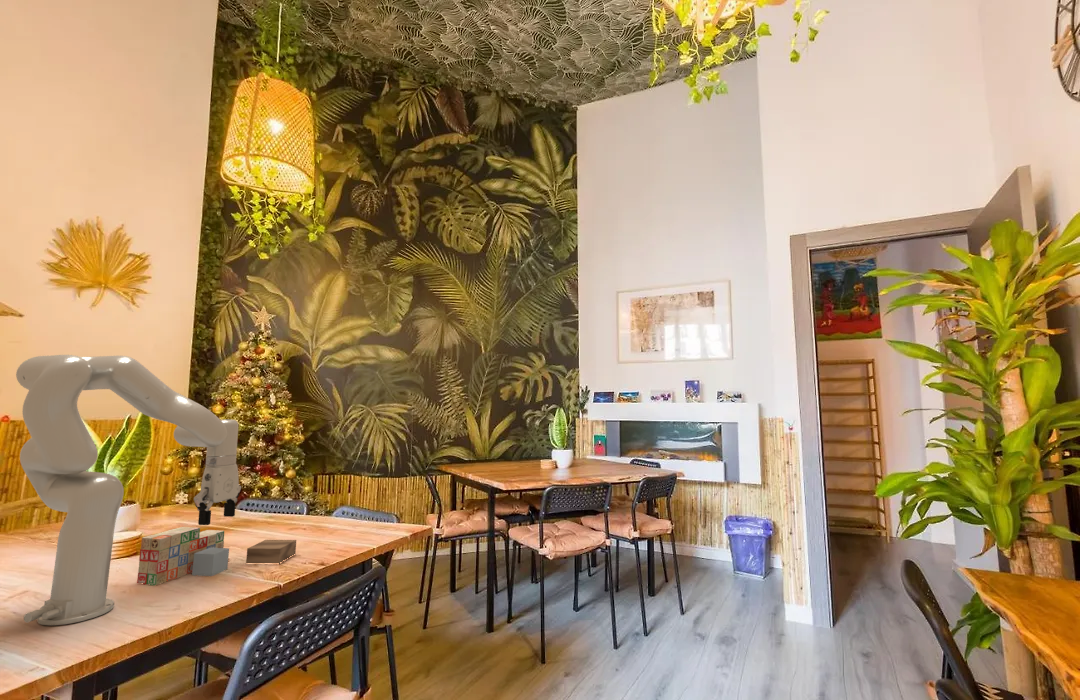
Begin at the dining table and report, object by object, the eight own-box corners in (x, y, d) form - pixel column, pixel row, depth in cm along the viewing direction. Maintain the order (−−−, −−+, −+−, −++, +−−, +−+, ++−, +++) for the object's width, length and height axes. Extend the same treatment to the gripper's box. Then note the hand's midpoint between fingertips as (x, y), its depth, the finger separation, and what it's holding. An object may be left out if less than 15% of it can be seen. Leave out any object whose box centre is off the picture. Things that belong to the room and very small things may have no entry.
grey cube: (211, 576, 135) (213, 554, 136) (192, 575, 135) (194, 553, 136) (227, 569, 141) (229, 548, 142) (208, 568, 141) (210, 547, 142)
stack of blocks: (205, 560, 149) (209, 519, 151) (222, 561, 148) (226, 520, 149) (136, 584, 128) (141, 536, 130) (155, 586, 127) (160, 538, 129)
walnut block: (278, 565, 145) (280, 548, 146) (245, 565, 145) (247, 548, 146) (295, 555, 155) (296, 539, 156) (264, 555, 155) (265, 539, 156)
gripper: (210, 465, 133) (206, 528, 132) (252, 457, 151) (249, 513, 149) (185, 465, 134) (180, 528, 132) (230, 457, 151) (226, 513, 149)
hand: (217, 520), depth 141 cm, fingers open, 9 cm apart
